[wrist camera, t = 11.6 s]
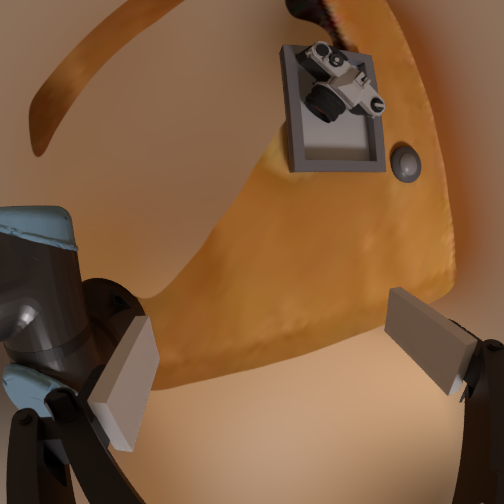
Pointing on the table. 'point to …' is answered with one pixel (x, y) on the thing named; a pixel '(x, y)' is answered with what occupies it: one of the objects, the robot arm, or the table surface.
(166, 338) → the table surface
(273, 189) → the table surface
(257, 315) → the table surface
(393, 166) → the lens cap
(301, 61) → the camera
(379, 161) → the case tray
